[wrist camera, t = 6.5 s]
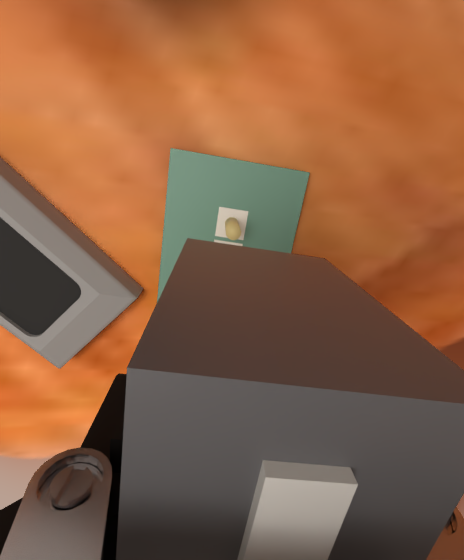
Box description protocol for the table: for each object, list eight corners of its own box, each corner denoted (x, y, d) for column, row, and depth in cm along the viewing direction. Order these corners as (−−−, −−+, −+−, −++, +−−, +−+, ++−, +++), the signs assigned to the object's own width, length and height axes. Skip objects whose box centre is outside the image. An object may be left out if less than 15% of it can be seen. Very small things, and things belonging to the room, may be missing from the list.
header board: (173, 149, 22) (161, 144, 18) (305, 172, 23) (325, 173, 19) (157, 319, 27) (145, 349, 22) (268, 333, 28) (277, 364, 23)
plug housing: (187, 238, 9) (120, 381, 3) (324, 258, 9) (529, 423, 3) (160, 473, 11) (99, 789, 6) (264, 481, 12) (311, 785, 6)
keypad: (52, 377, 25) (-132, 243, 21) (73, 352, 28) (-81, 232, 24) (133, 304, 23) (-53, 140, 19) (144, 286, 26) (-10, 144, 22)
